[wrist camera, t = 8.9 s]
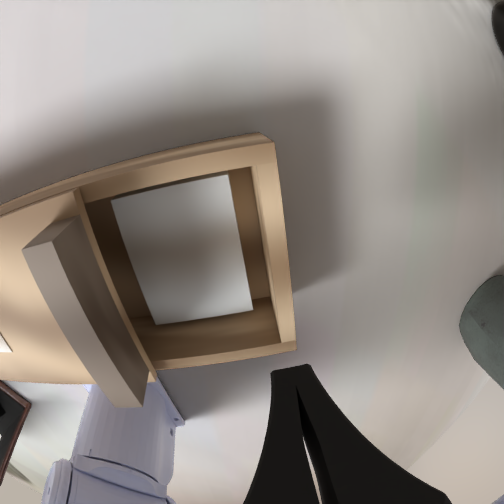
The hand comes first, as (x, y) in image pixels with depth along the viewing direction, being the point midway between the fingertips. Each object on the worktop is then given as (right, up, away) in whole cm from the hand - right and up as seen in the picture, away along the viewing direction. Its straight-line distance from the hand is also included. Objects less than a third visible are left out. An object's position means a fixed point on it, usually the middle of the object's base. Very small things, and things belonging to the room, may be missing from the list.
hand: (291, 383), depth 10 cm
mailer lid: (-17, +1, +3) cm, 17 cm away
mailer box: (-9, +5, +8) cm, 13 cm away
